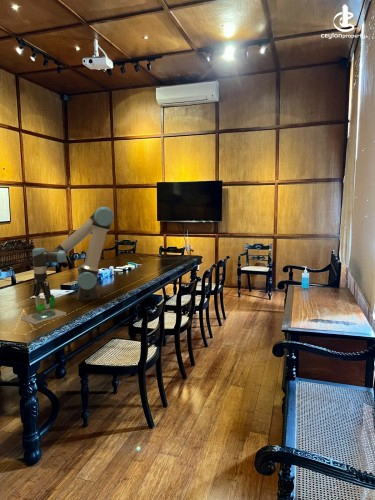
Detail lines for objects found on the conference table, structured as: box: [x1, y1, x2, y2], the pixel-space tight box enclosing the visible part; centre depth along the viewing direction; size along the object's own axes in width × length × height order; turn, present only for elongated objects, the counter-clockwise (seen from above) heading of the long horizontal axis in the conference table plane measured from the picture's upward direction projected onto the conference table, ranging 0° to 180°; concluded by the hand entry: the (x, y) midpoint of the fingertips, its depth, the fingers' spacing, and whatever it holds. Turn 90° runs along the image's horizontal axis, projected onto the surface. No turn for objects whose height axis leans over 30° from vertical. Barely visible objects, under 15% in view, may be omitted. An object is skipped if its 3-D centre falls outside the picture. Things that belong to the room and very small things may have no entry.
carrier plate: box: [20, 308, 67, 325], centre depth 204 cm, size 20×14×1 cm
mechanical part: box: [35, 294, 56, 312], centre depth 221 cm, size 12×6×8 cm, turn 160°
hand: (42, 307), depth 221 cm, fingers open, 9 cm apart
